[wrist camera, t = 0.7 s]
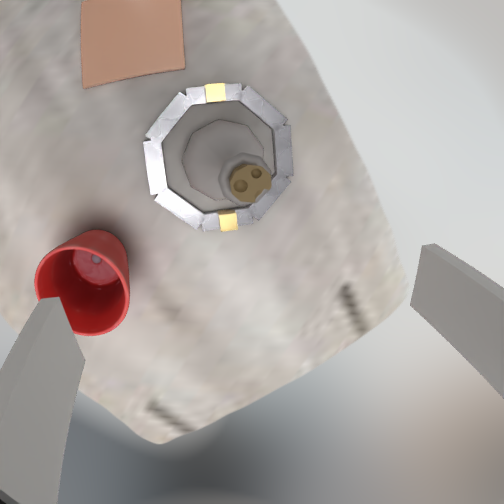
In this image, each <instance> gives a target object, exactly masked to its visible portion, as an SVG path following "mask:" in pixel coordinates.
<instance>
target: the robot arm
mask: <svg viewBox="0 0 504 504" xmlns="http://www.w3.org/2000/svg"><path fill="white" fill-rule="evenodd" d="M410 306H411V307H412V308H414V310H416V311H417V312H418V313H419V314H420V315H421V316H422V317H423V318H424V319H425V320H426V321H427V322H428V323H429V324H431V325H432V326H433V327H434V328H435V329H436V330H437V331H438V332H439V333H440V334H441V335H442V336H443V337H444V338H445V339H446V340H447V341H448V342H449V343H450V344H451V345H452V346H453V347H454V348H455V349H456V350H457V351H458V352H459V353H461V355H462V356H463V357H464V358H465V359H466V360H467V361H468V362H469V363H470V364H471V365H472V366H473V367H474V368H475V369H476V370H477V371H478V372H479V373H480V374H481V375H482V376H483V377H484V378H485V379H486V380H487V381H488V382H489V383H490V384H491V386H493V388H494V389H495V390H496V391H497V392H498V393H499V394H500V395H501V396H502V397H503V398H504V288H503V287H501V286H500V285H498V284H497V283H496V282H494V281H493V280H491V279H490V278H488V277H487V276H485V275H484V274H482V273H481V272H479V271H478V270H476V269H475V268H473V267H472V266H470V265H469V264H467V263H466V262H464V261H462V260H461V259H459V258H458V257H456V256H454V255H453V254H451V253H450V252H448V251H446V250H445V249H443V248H441V247H440V246H438V245H437V244H430V245H424V246H422V249H421V254H420V260H419V266H418V271H417V275H416V280H415V285H414V290H413V294H412V298H411V303H410ZM84 364H85V358H84V356H83V354H82V352H81V349H80V347H79V345H78V343H77V340H76V338H75V336H74V333H73V331H72V328H71V326H70V324H69V321H68V319H67V316H66V313H65V311H64V308H63V305H62V303H61V300H60V297H53V298H44V299H41V300H40V301H39V303H38V304H37V306H36V308H35V309H34V311H33V312H32V314H31V316H30V317H29V319H28V321H27V322H26V324H25V326H24V327H23V329H22V331H21V333H20V334H19V336H18V338H17V340H16V341H15V344H14V345H13V347H12V349H11V351H10V353H9V354H8V356H7V358H6V360H5V362H4V364H3V366H2V368H1V370H0V504H57V500H58V491H59V482H60V476H61V469H62V463H63V456H64V450H65V444H66V440H67V435H68V430H69V425H70V420H71V415H72V411H73V407H74V402H75V398H76V394H77V390H78V386H79V382H80V379H81V375H82V371H83V368H84Z"/></svg>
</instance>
